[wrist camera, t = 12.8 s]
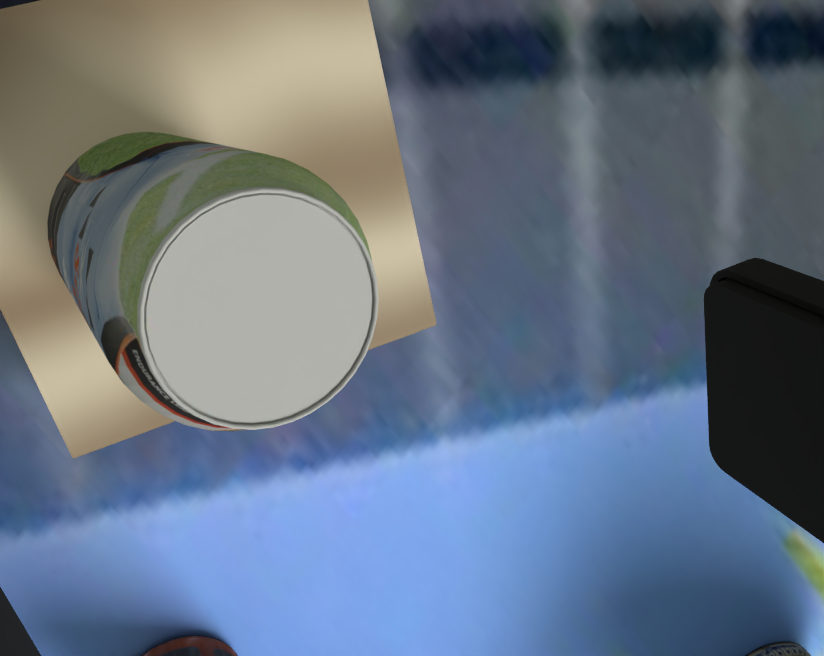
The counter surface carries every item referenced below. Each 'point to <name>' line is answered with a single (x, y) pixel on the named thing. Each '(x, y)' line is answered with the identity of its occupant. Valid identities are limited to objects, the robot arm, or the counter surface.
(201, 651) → the supplement bottle
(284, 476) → the counter surface
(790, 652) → the decorative vase
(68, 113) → the oak block
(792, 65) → the counter surface
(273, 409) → the beverage can
